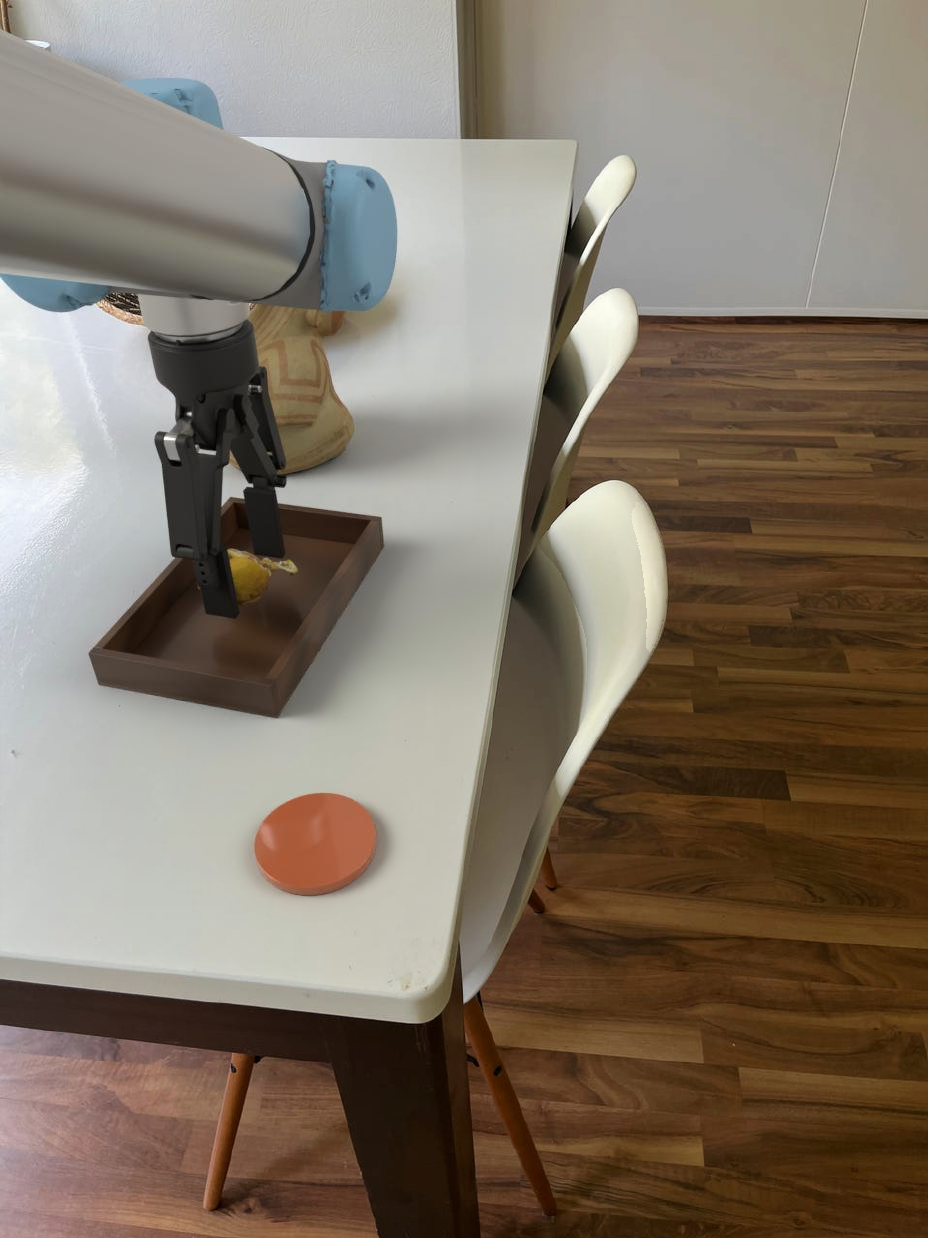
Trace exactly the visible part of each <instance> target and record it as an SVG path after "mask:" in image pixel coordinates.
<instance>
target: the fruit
mask: <svg viewBox="0 0 928 1238" xmlns="http://www.w3.org/2000/svg"><path fill="white" fill-rule="evenodd" d="M228 555H229V561H230V566H231V571H232V576H233V581H234V586H235V592H236V597H237V602H238V605H239V606H242V605H244V604H245V603H248V602H251V603H253V602H255V601H257V600H260V596H261V595H262V594H263V593H264V592H265V590H267V588H268V585H269V583H268V580H269V577H270V576H271V575H272V573H273V572H274V570H275V569H279V568H281V569H285V570H286V571H287V572H289V573H290V574H291V575H294V574H296V573H297V571H298V569H297V567H296V566H295V564H294V563H293V562H292V561H291V560H287V561H283V562H282V561H280V563H279V562H272V561H271V560H269V558H264V559H263V560H261V561H260V560H259V559H258V558H257V557H256V556H254V555H253V554H251V553H248V552H246V551H239V550H237V549H228ZM291 575H290V576H291ZM290 576H289V577H290ZM198 589H199V590H200V587H199V585H198ZM200 591H201V590H200ZM201 596H202V594H201ZM202 600H203V599H202Z"/></svg>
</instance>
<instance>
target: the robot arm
mask: <svg viewBox="0 0 928 1238" xmlns="http://www.w3.org/2000/svg"><path fill="white" fill-rule="evenodd" d="M397 251H398V218H397V210H396V205H395V201H394V197H393V193H392V191H391V189H390V186H389V185H388V183H387V180H386V179H385V178H384V176H383V175H382V174H381V173H380V172H378V171H377V170H376V169H374V168H372V167H369V166H365V165H354V164H345V163H338V162H337V160H336V159H335V160H334V159H327V160H326V161H325V162H324V161H323V162H321V161H304V160H297V159H293V158H291V157H288V156H285V155H283V154H281V153H279V152H276V151H274V150H272V149H269V148H266V147H263V146H260V145H257V144H256V143H253V142H251V141H249V140H246V139H244V138H243V137H240V136H238V135H236V134H233V133H231V132H229V131H227V130H225V129H224V124H223V120H222V115H221V112H220V107H219V102H218V99H217V96H216V94H215V92H214V90H213V89H212V88H211V87H210V86H208V85H207V84H206V83H204V82H202V81H200V80H197V79H191V78H182V77H153V78H140V79H139V78H138V79H132V80H126V81H119V82H118V81H116V80H114V79H112V78H110V77H107V76H105V75H103V74H101V73H99V72H96V71H94V70H92V69H89V68H87V67H85V66H83V65H81V64H79V63H76V62H74V61H72V60H69V59H67V58H65V57H63V56H61V55H58V54H56V53H54V52H52V51H50V50H47V49H45V48H43V47H41V46H39V45H38V44H37V45H36V44H34V43H32V42H30V41H28V40H26V39H23V38H21V37H19V36H16V35H14V34H12V33H10V32H9V31H6V30H3V29H1V28H0V279H1V280H2V281H3V283H4V284H5V285H6V286H7V287H8V288H9V289H10V290H11V291H12V292H13V293H14V294H16V295H17V296H18V297H20V299H22V300H24V301H25V302H26V303H28V304H30V305H31V306H33V307H35V308H37V309H40V310H43V311H46V312H51V313H71V312H74V311H77V310H79V309H81V308H83V307H86V306H87V307H92V306H94V304H98V303H100V302H102V301H103V300H104V299H106V297H107V296H108V295H111V294H129V295H130V294H133V295H137V297H138V302H139V308H140V312H141V318H142V322H143V325H144V326H145V327H146V328H147V329H148V330H150V331H149V333H148V335H147V342H148V347H149V351H150V355H151V361H152V365H153V368H154V375H155V377H156V380H157V381H158V383H159V384H160V385H161V386H163V387H164V388H165V389H167V390H168V391H169V392H170V393H171V394H172V395H173V396H174V399H175V401H174V402H175V412H174V416H175V417H174V419H175V424H174V425H173V427H172V428H171V429H170V430H169V431H161V430H158V431H157V432H156V433H155V435H154V438H153V439H154V441H153V442H154V446H155V449H156V452H157V456H158V458H159V461H160V464H161V472H162V483H163V490H164V500H165V511H166V520H167V521H166V522H167V529H168V530H167V531H168V541H169V548H170V555H171V556H172V557H173V558H175V557H177V558H183V559H190V560H193V565H194V569H195V573H196V578H197V583H198V585H199V587H200V590H201V594H202V599H203V604H204V608H205V613H206V614H209V615H215V616H221V617H228V618H234V619H236V618H237V616H238V615H239V614H240V612H239V607H238V602H237V597H236V592H235V586H234V581H233V576H232V571H231V566H230V561H229V555H228V550H227V547H225V546H220V530H221V507H222V506H223V505H222V504H223V483H224V481H223V479H224V468H225V467H227V466H228V465H229V464H230V463H229V461H230V451H231V452H232V454H233V456H234V458H235V460H236V462H237V464H238V465H239V467H240V469H241V470H240V471H241V473H242V474H243V477H244V478H245V480H246V482H247V483H248V484H249V485H252V486H246V487H245V488H244V489H243V490H242V494H243V499H245V505H246V511H247V517H248V522H249V528H250V534H251V539H252V545H253V551H254V555H260V556H267V557H274V558H281V559H282V558H283V557H284V555H285V548H284V541H283V535H282V528H281V522H280V515H279V508H278V503H279V502H278V496H277V490H276V488H280V489H284V488H285V487H286V486H287V484H288V483H287V481H288V477H287V474H278V473H277V472H278V470H284V469H285V467H286V458H285V454H284V450H283V446H282V442H281V439H280V435H279V431H278V427H277V423H276V419H275V416H274V412H273V408H272V404H271V400H270V396H269V392H268V378H267V369H266V367H263V366H259V360H258V353H257V347H256V340H255V333H254V327H253V325H252V323H251V322H250V321H249V320H248V319H247V318H248V316H249V315H250V311H251V307H250V304H253V305H257V304H262V305H271V306H282V307H292V308H302V309H312V310H321V311H322V312H331V311H332V310H335V311H345V312H367V311H370V310H372V309H375V308H376V307H377V306H378V304H380V302H381V301H383V300H384V298H385V297H386V294H387V293H388V290H389V288H390V286H391V284H392V280H393V277H394V273H395V268H396V262H397V253H398V252H397ZM200 450H203V451H208V452H209V451H210V452H215V454H210V453H202V452H199V451H200ZM267 452H272V455H268V453H267ZM206 538H207V539H206Z"/></svg>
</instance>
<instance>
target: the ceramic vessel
mask: <svg viewBox="0 0 928 1238" xmlns="http://www.w3.org/2000/svg"><path fill="white" fill-rule="evenodd" d="M345 312H346V311H335V310H332V311H331V312H322V311H321V310H312V309H302V308H292V307H282V306H271V305H262V304H255V306H254V307H253V308H252V309H250V315H249V316H248V318H247V319H248V320H249V321H250V322H251V323H252V325H253V327H254V333H255V340H256V347H257V353H258V360H259V366H263V367H266V369H267V378H268V392H269V396H270V400H271V404H272V408H273V412H274V416H275V419H276V423H277V427H278V431H279V435H280V439H281V442H282V446H283V450H284V454H285V458H286V467H285V469H284V470H278V472H277V473H278V474H279V475H287V474H291V473H296V472H302V471H306V470H309V469H311V468H314V467H317V466H319V465H321V464H323V463H326V462H327V461H329V460H331V459H333V458H337V457H339V456H340V455H342V454H343V453H344V452H345V451H346V450H347V447H348V445H349V443H350V442H351V440H352V438H353V437H354V434H355V423H354V419H353V417H352V414H351V413H350V411H349V409H348V407H347V406H346V405H345V404H344V402H343V401H342V400H341V399H340V397H339V395H338V393H337V391H336V390H335V386H334V384H333V383H334V382H333V380H332V375H331V369H330V363H329V360H328V357H327V355H326V351H325V349H324V345H323V341H322V340H323V338H325V337H334V336H335V335H336V334H337V333H338V331H339V330H340V329H341V328H342V325H343V323H344V321H345ZM267 453H268V455H272V452H267ZM229 464H230V465H231V466H232V467H234V468H235V469H237V470H239V471H241V469H240V467H239V465H238V464H237V462H236V460H235V458H234V456H233V454H232V452H231V451H230V461H229Z"/></svg>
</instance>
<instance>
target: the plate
mask: <svg viewBox="0 0 928 1238" xmlns="http://www.w3.org/2000/svg"><path fill="white" fill-rule="evenodd" d="M377 836H378V835H377V829H376V824H375V822H374V819H373V818H372V815H371V814H370V812H369V811H368V810H367V809H366V807H365V806H363V805H362V804H361V803H360V802H358V801H357V800H355V799H353V798H351V797H349V796H345V795H343V794H338V793H332V792H314V793H308V794H307V793H306V794H303V795H300V796H296V797H294V798H292V799H289V800H287V801H286V802H283V803H282V804H280V805H279V806H277V807H276V808H275V809H273V810H271V812H270V813H269V814H268V815H267V816H266V817H265V818H264V820H263V821H262V822H261V823H260V825H259V827H258V830H257V832H256V835H255V837H254V844H253V851H254V857H255V860H256V861H255V862H256V865H257V867H258V870H259V872H260V874H261V875H262V877H264V879H265V880H266V881H267V882H268V883H269V884H270V885H272V886H273V887H275V888H277V889H278V890H281V891H283V892H286V893H288V894H294V895H299V896H319V895H325V894H328V893H333V892H335V891H338V890H340V889H342V888H344V887H347V886H348V885H349V884H351V883H352V882H354V881H356V880H357V879H358V878H360V876H361V875H362V874H363V873H364V872H365V871H366V870H367V868H368V867H369V866H370V864H371V862H372V860H373V859H374V857H375V854H376V850H377V844H378V837H377Z"/></svg>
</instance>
